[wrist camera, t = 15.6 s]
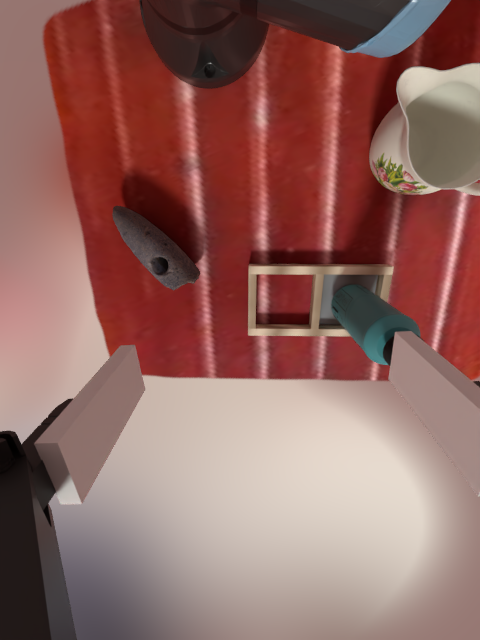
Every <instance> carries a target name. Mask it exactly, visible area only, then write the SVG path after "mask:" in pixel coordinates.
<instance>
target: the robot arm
mask: <svg viewBox="0 0 480 640" xmlns="http://www.w3.org/2000/svg"><path fill="white" fill-rule="evenodd" d="M139 1H140V9H141V15H142V19H143V23H144V26H145V29H146V32H147V35H148V37H149V39H150V42H151V44H152V45H153V47H154V49H155V51H156V52H157V54H158V56H159V57H160V59H161V60H162V62H163V63H164V64H165V66H166V67H167V68H168V69H169V70H170V71H171V72H172V73H173V74H174V75H175V76H176V77H178V78H179V79H181V80H182V81H184V82H186V83H188V84H190V85H193V86H196V87H200V88H218V87H222V86H225V85H228V84H230V83H232V82H234V81H236V80H237V79H239V78H240V77H241V76H243V75H244V74H245V73H246V72H247V71H248V70H249V69H250V67H251V66H252V65H253V64H254V62H255V61H256V59H257V57H258V56H259V54H260V52H261V50H262V47H263V45H264V42H265V39H266V36H267V32H268V27H269V24H272V25H275V26H278V27H282V28H285V29H288V30H291V31H294V32H297V33H300V34H303V35H306V36H309V37H312V38H315V39H318V40H321V41H324V42H327V43H330V44H333V45H336V46H339V48H340V49H341V50H342V51H344V52H346V53H349V52H351V53H355V52H359V53H363V54H367V55H371V56H374V57H379V58H383V57H389V56H392V55H395V54H398V53H400V52H401V51H403V50H404V49H406V48H407V47H409V46H410V45H411V44H412V43H414V42H415V41H416V40H417V39H418V38H419V37H420V36H421V35H422V34H423V33H424V32H425V31H426V30H427V29H428V28H429V27H430V25H431V24H432V23H433V22H434V21H435V20H436V19H437V17H438V16H439V15H440V14H441V12H442V11H443V10H444V9H445V7H446V6H447V5H448V4H449V2H450V1H451V0H139ZM389 381H390V382H391V383H392V384H393V386H394V387H395V388H396V390H397V391H398V392H399V394H400V395H401V396H402V398H403V399H404V400H405V401H406V403H407V404H408V405H409V407H410V408H411V409H412V411H413V412H414V413H415V415H416V416H417V417H418V418H419V420H420V421H421V422H422V424H423V425H424V426H425V427H426V429H427V430H428V432H429V433H430V434H431V435H432V437H433V438H434V439H435V441H436V442H437V443H438V445H439V446H440V447H441V448H442V450H443V451H444V452H445V454H446V455H447V456H448V458H449V459H450V460H451V462H452V463H453V464H454V466H455V467H456V468H457V469H458V471H459V472H460V473H461V475H462V476H463V477H464V479H465V480H466V481H467V482H468V484H469V485H470V486H471V488H472V489H473V490H474V492H475V493H476V494H477V496H480V382H479V381H473V382H472V381H471V380H470V379H469V378H468V377H466V376H465V375H464V374H463V373H462V372H460V371H459V370H458V369H457V368H455V367H454V366H453V365H452V364H451V363H449V362H448V361H447V360H446V359H444V358H443V357H442V356H441V355H440V354H438V353H437V352H436V351H435V350H434V349H432V348H431V347H430V346H429V345H427V344H426V343H425V342H424V341H423V340H421V339H420V338H419V337H418V336H417V335H415V334H414V333H413V332H412V331H401V332H395V336H394V343H393V350H392V358H391V365H390V372H389ZM144 391H145V386H144V382H143V378H142V374H141V369H140V365H139V361H138V356H137V352H136V348H135V345H126V346H120V347H119V348H118V349H117V350H116V351H115V353H114V354H113V355H112V356H111V357H110V358H109V359H108V361H107V362H106V363H105V364H104V365H103V366H102V367H101V368H100V370H99V371H98V372H97V373H96V374H95V375H94V376H93V377H92V379H91V380H90V381H89V382H88V383H87V384H86V385H85V387H84V388H83V389H82V390H81V391H80V392H79V394H78V395H77V396H76V397H75V398H74V399H68V400H66V401H65V402H63V403H62V404H60V405H59V406H57V407H56V408H55V409H54V410H53V411H52V412H51V413H50V414H49V416H48V418H46V419H45V420H44V421H43V422H42V423H41V425H40V426H38V427H37V428H36V429H35V430H34V432H33V433H32V434H31V435H30V436H29V437H28V438H27V439H26V440H25V441H24V442H23V444H21V443H20V441H19V438H18V436H17V434H16V433H15V432H13V431H2V432H0V640H77V638H76V633H75V628H74V623H73V618H72V613H71V607H70V602H69V597H68V593H67V587H66V582H65V577H64V572H63V567H62V562H61V557H60V552H59V547H58V542H57V537H56V531H55V526H54V521H53V516H52V511H51V508H50V506H49V504H48V503H49V501H50V500H51V498H52V497H53V495H54V494H55V493H56V495H57V497H58V499H59V502H60V504H82V503H83V501H84V499H85V497H86V496H87V494H88V492H89V490H90V488H91V487H92V485H93V483H94V481H95V479H96V477H97V476H98V474H99V472H100V470H101V468H102V467H103V465H104V463H105V461H106V459H107V458H108V456H109V454H110V452H111V450H112V449H113V447H114V445H115V443H116V441H117V440H118V438H119V436H120V433H121V432H122V430H123V429H124V427H125V425H126V423H127V421H128V420H129V418H130V416H131V414H132V412H133V411H134V409H135V407H136V405H137V403H138V401H139V400H140V398H141V396H142V394H143V393H144Z"/></svg>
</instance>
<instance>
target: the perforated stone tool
mask: <svg viewBox="0 0 480 640" xmlns="http://www.w3.org/2000/svg"><path fill="white" fill-rule="evenodd" d="M113 220H114V222H115V224H116V226H117V228H118V230H119V232H120V234H121V236H122V238H123V240H124V241H125V243H126V244H127V245H128V247H129V248H130V249H131V250H132V252H133V253H134V254H135V256H136V257H137V258H138V259H139V260H140V262H141V263H142V264H143V265H144V266H145V267H146V268H147V269H148V270H149V271H150V273H152V275H153V276H155V277H156V278H157V279H158V280H159V281H160V282H161V283H162V284H163V285H165V286H166V287H169V288H170V289H172V290H175V289H177V288H179V287H180V286H182V285H184V284H187V283H188V282H190V283H195V281H196V280H197V279H198V276H199V275H200V271H199V269H198V268H197V267H196V265H195V264H194V263H193V262H192V260H191V259H190V258H189V257H188V256H187V255H186V254H185V253H184V252H183V251H182V250H181V249H180V248H179V247H178V246H177V245H176V244H175V243H174V242H173V241H172V240H171V239H170V238H169V237H168V236H167V235H166V234H164V233H163V232H162V231H161V230H160V229H158V228H157V227H156V226H155V225H153V224H152V223H151V222H149V221H148V220H147V219H145V218H144V217H143V216H141V215H140V214H138V213H136V212H134V211H132V210H130V209H128V208H125V207H122V206H115V207H114V208H113Z"/></svg>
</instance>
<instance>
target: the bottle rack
mask: <svg viewBox="0 0 480 640" xmlns="http://www.w3.org/2000/svg"><path fill="white" fill-rule="evenodd" d="M393 268H394V267H393V266H391V265H388V264H249V292H248V335H260V336H349V335H350V334H349V333H348V332H346V330H345V329H344V327H342V324H341V323H340V322H338V321H337V319H336V318H335V317H334V314H332V313H333V312H332V309H331V303H332V302H331V301H332V299H333V297H334V295H335V294H336V292H337V291H338V290H340V289H341V288H343V287H345V286H348V285H362V287H364V288H367V290H369V291H372V292H373V293H374V294H375V295H377V296H378V297H379V296H380V297H382V298H381V299H383V300H384V301H386V300H388V295H389V289H390V284H391V279H392V273H393ZM257 274H313V281H312V292H311V304H310V315H309V325H294V324H256V278H257ZM377 278H378V279H377ZM376 284H377V285H376ZM375 290H376V291H375ZM386 302H387V301H386ZM319 324H335V325H319ZM350 336H351V335H350Z"/></svg>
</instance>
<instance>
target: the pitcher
mask: <svg viewBox="0 0 480 640" xmlns="http://www.w3.org/2000/svg"><path fill="white" fill-rule="evenodd" d="M396 92H397V96H398V101H399V103H397V104H396V105H395V106H394V107H393V108H392V109H391V110H390V111H389V112H388V114H387V115H386V116H385V117H384V119H383V120H382V121H381V123H380V125H379V126H378V128H377V130H376V132H375V134H374V136H373V139H372V142H371V146H370V152H369V161H370V167H371V170H372V172H373V175H374V176H375V178H376V179H377V180H378V182H379V183H380V184H382V185H383V186H384V187H386V188H387V189H389V190H391V191H393V192H396V193H400V194H405V195H423V194H428V193H432V192H436V191H439V190H441V189H455V190H458V191H460V192H463V193H467V194H471V195H477V196H480V184H479V183H474V182H476V181H478V180H479V179H480V63H470V64H465V65H462V66H458V67H455V68H452V69H448V70H437V69H434V68H430V67H423V66H414V67H410V68H408V69H406V70H405V71H404V72H403V73H402V74H401V75H400V77H399V79H398V81H397V87H396Z"/></svg>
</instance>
